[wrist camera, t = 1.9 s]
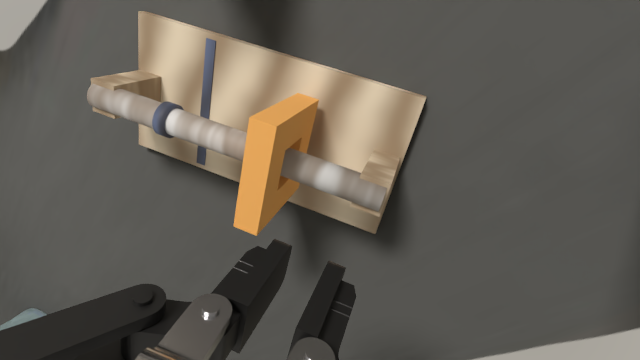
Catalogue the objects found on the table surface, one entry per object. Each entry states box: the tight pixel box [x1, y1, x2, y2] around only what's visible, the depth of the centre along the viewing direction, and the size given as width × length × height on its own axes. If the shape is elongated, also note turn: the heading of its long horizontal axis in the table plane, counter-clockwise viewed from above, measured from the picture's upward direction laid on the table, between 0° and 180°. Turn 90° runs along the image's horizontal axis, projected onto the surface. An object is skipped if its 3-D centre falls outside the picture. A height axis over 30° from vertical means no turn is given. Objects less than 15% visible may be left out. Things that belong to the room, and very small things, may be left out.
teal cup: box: [0, 308, 47, 330], centre depth 61 cm, size 10×10×12 cm
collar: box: [234, 93, 319, 236], centre depth 30 cm, size 2×9×9 cm, turn 166°
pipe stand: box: [87, 11, 426, 234], centre depth 33 cm, size 28×14×8 cm, turn 76°
